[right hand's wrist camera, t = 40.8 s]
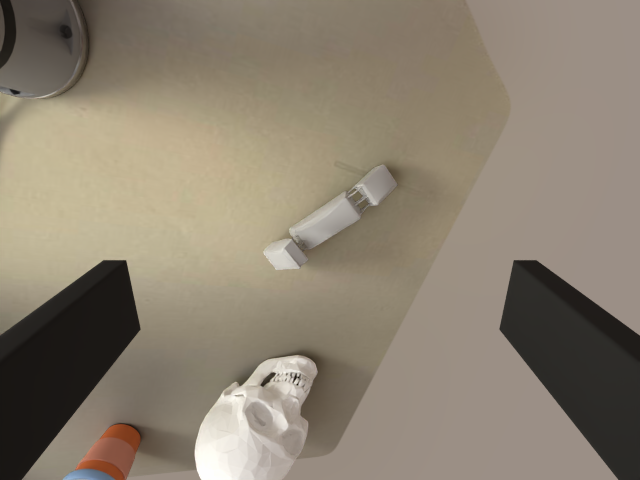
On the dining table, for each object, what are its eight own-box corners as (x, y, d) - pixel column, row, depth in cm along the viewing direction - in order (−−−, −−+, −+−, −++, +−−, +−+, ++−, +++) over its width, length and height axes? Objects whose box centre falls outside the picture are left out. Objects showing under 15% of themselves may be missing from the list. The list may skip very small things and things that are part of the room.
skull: (340, 372, 60) (343, 460, 45) (258, 445, 65) (236, 543, 51) (278, 325, 57) (259, 401, 42) (198, 405, 63) (157, 497, 48)
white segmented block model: (278, 267, 52) (277, 287, 46) (261, 247, 51) (258, 265, 45) (391, 182, 50) (407, 191, 43) (376, 160, 49) (390, 166, 42)
